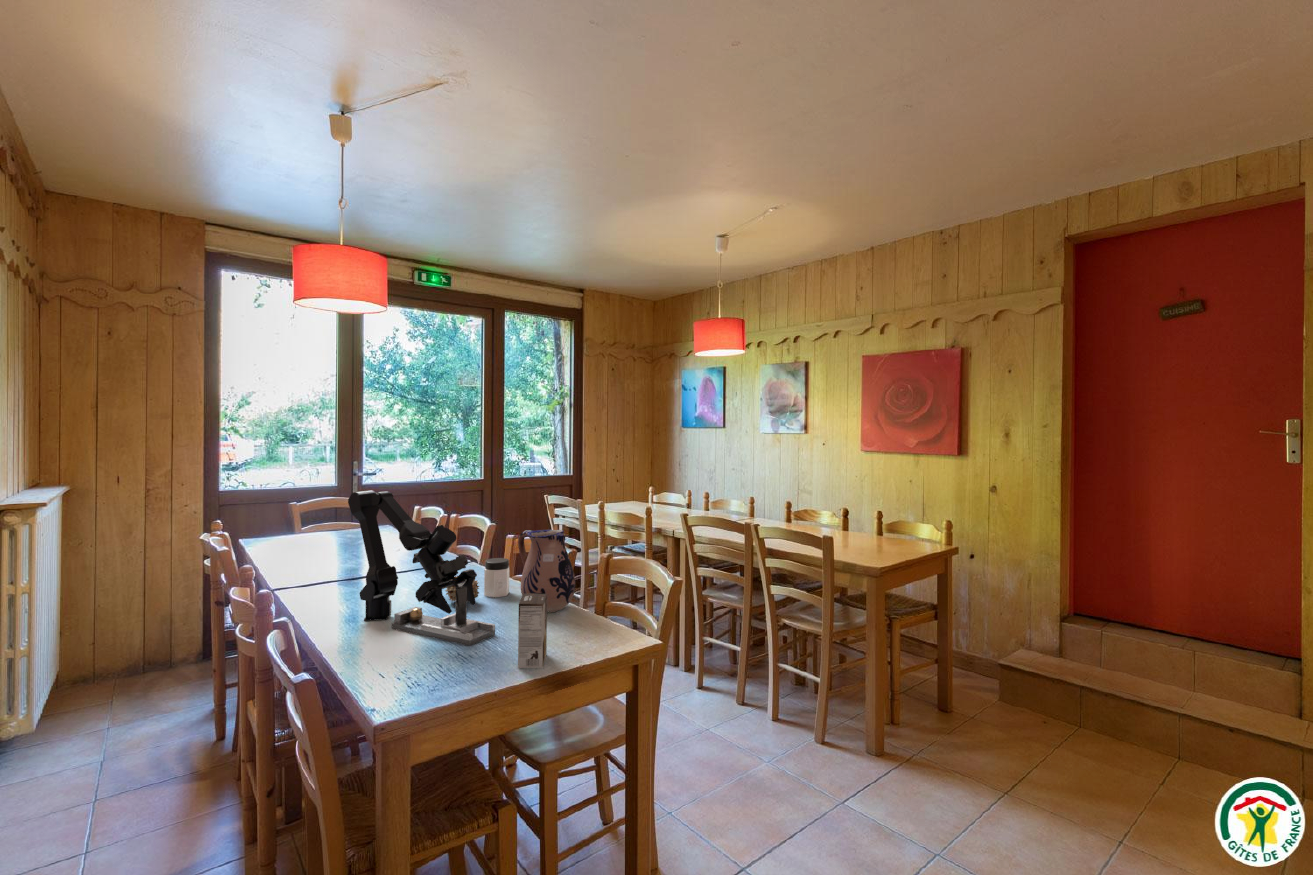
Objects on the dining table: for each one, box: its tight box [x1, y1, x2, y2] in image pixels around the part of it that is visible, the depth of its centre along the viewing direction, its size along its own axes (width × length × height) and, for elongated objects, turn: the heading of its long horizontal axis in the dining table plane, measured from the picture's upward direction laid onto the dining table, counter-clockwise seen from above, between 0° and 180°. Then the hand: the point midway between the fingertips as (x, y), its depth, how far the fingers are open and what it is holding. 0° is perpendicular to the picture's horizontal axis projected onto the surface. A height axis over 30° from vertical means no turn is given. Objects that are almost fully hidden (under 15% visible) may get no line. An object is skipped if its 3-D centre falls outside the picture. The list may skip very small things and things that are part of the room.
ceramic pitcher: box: [517, 529, 576, 613], centre depth 199 cm, size 18×21×25 cm
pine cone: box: [444, 574, 480, 603], centre depth 206 cm, size 22×10×10 cm, turn 49°
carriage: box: [440, 586, 479, 633], centre depth 172 cm, size 7×7×12 cm
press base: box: [390, 606, 496, 647], centre depth 175 cm, size 30×10×5 cm, turn 64°
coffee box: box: [517, 593, 548, 669], centre depth 154 cm, size 9×6×16 cm
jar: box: [483, 557, 510, 598], centre depth 215 cm, size 9×8×12 cm
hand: (462, 608), depth 171 cm, fingers open, 9 cm apart
